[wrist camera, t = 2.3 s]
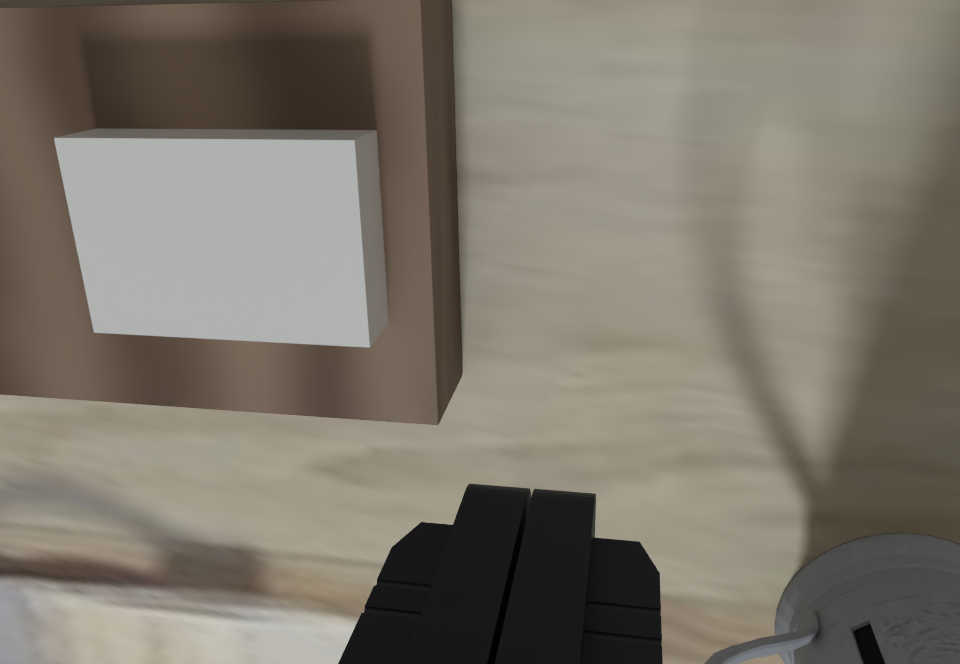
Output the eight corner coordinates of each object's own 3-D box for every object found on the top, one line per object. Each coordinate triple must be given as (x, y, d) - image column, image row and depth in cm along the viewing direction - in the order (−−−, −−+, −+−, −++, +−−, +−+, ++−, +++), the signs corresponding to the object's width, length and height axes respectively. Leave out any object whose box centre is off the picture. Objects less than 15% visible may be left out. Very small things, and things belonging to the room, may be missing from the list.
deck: (451, 0, 26) (420, -2, 22) (462, 375, 30) (438, 424, 27) (-94, 12, 29) (-200, 12, 25) (-8, 347, 34) (-87, 388, 30)
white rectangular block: (376, 130, 24) (354, 139, 22) (389, 323, 26) (369, 347, 24) (96, 128, 25) (53, 137, 23) (130, 310, 27) (93, 332, 25)
